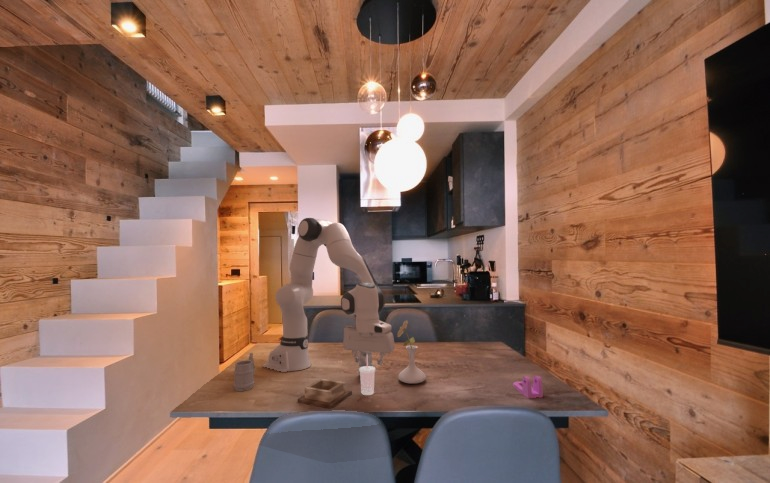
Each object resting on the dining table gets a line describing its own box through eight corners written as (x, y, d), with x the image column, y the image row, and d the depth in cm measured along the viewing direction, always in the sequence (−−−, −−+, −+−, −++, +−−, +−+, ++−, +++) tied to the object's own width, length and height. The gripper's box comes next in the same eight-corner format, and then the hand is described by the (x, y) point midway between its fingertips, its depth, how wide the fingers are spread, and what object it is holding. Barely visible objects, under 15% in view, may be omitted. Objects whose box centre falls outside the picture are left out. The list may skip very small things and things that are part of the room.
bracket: (542, 397, 125) (542, 377, 125) (528, 398, 124) (527, 378, 125) (524, 384, 138) (523, 366, 138) (510, 385, 137) (510, 367, 138)
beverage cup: (376, 395, 129) (375, 356, 129) (359, 396, 128) (359, 357, 129) (375, 389, 135) (374, 352, 135) (359, 390, 134) (358, 352, 135)
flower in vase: (410, 374, 151) (409, 316, 152) (432, 381, 143) (430, 319, 144) (389, 382, 142) (388, 320, 143) (410, 389, 134) (409, 323, 135)
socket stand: (297, 402, 124) (297, 389, 124) (320, 388, 136) (320, 376, 137) (331, 408, 118) (331, 394, 118) (351, 393, 131) (351, 381, 131)
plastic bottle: (371, 379, 146) (371, 330, 147) (356, 378, 147) (355, 330, 148) (375, 374, 152) (374, 327, 153) (360, 373, 154) (359, 327, 154)
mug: (229, 391, 135) (229, 359, 135) (244, 380, 146) (244, 351, 147) (248, 392, 134) (248, 360, 134) (262, 381, 146) (262, 351, 146)
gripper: (339, 326, 134) (340, 363, 133) (388, 328, 126) (390, 368, 125) (347, 323, 140) (348, 358, 139) (395, 325, 132) (396, 363, 131)
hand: (368, 363), depth 132 cm, fingers open, 8 cm apart
